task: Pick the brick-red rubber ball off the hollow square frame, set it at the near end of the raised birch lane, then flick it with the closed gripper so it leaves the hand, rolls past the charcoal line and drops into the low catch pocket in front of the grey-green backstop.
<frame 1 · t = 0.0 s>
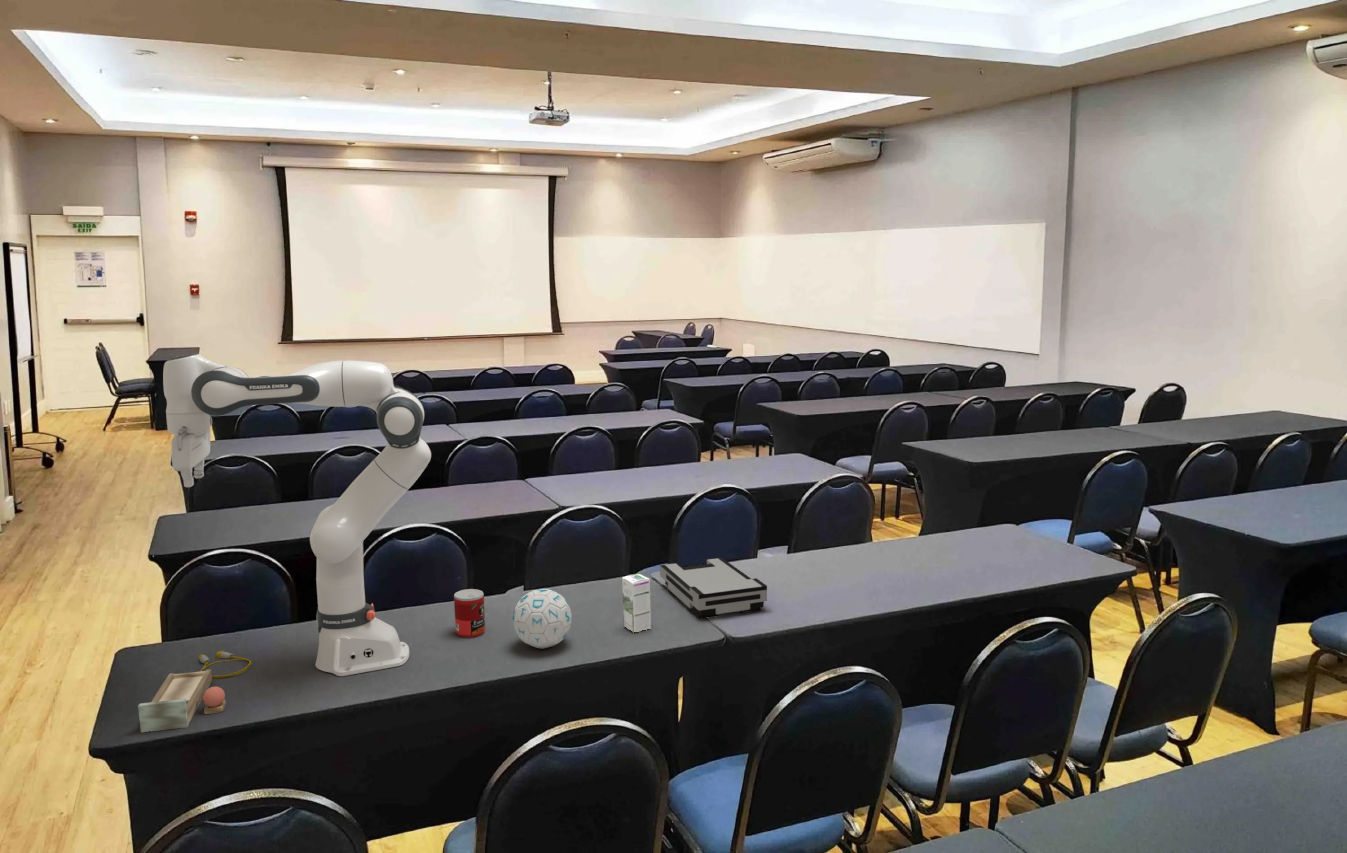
hand: (194, 482, 219), 48 cm above the table, tool pointing down, fingers open, 8 cm apart
hollow square frame: (215, 709, 209), on the table
canned food: (470, 633, 252), on the table
syrup box: (637, 629, 254), on the table
ball: (214, 696, 208), point 3 cm above the table, touching hollow square frame
puzzle ball: (543, 646, 243), on the table
lane: (179, 704, 212), on the table
extension cord: (224, 668, 232), on the table
game console: (711, 600, 277), on the table
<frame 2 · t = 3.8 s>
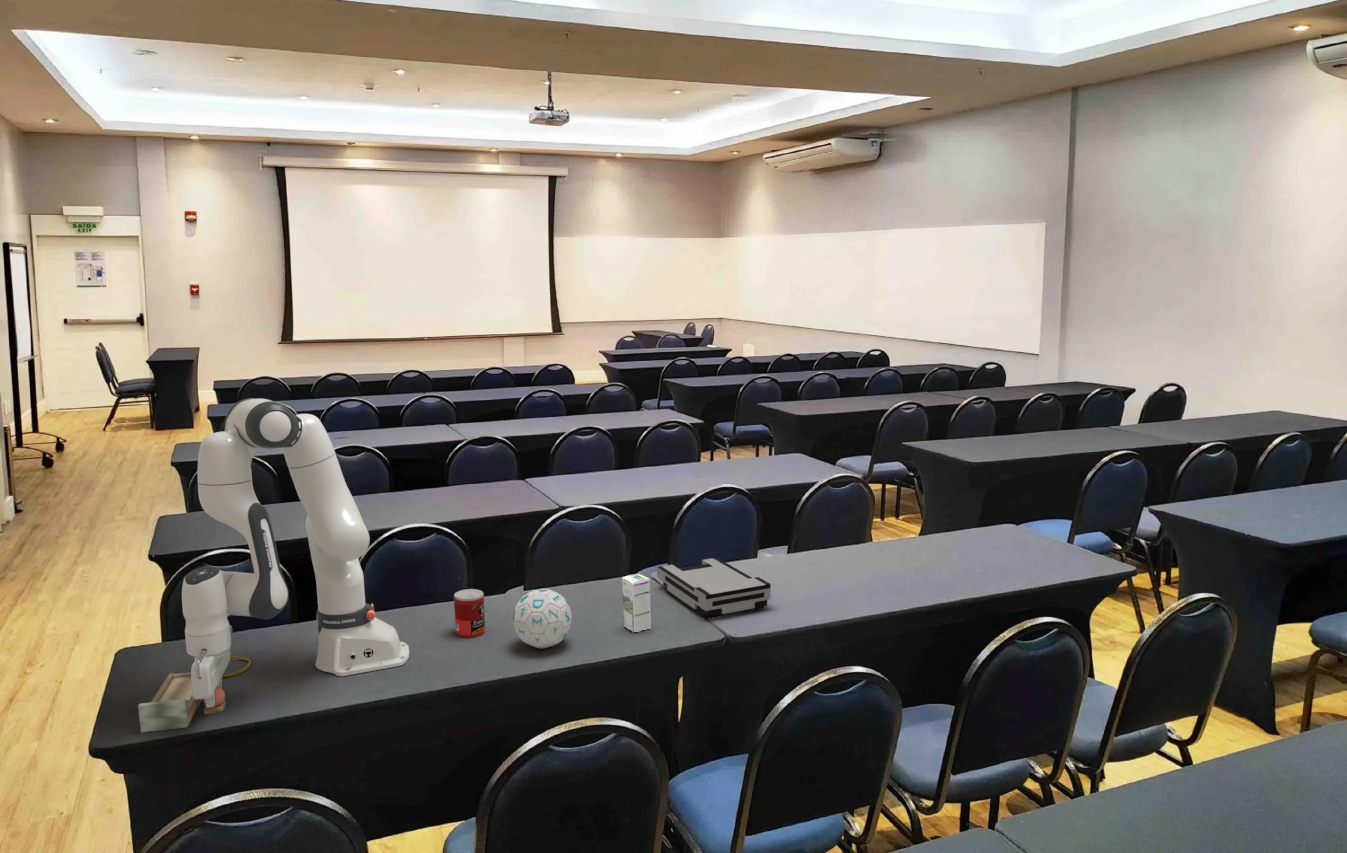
hand: (214, 700, 209), 2 cm above the table, tool pointing down, fingers closed on ball, 4 cm apart
ball: (214, 696, 208), point 3 cm above the table, touching gripper, hollow square frame
when the fingers open (4 cm above the table, at t = 8.2 s): ball drops 1 cm, resting on lane.
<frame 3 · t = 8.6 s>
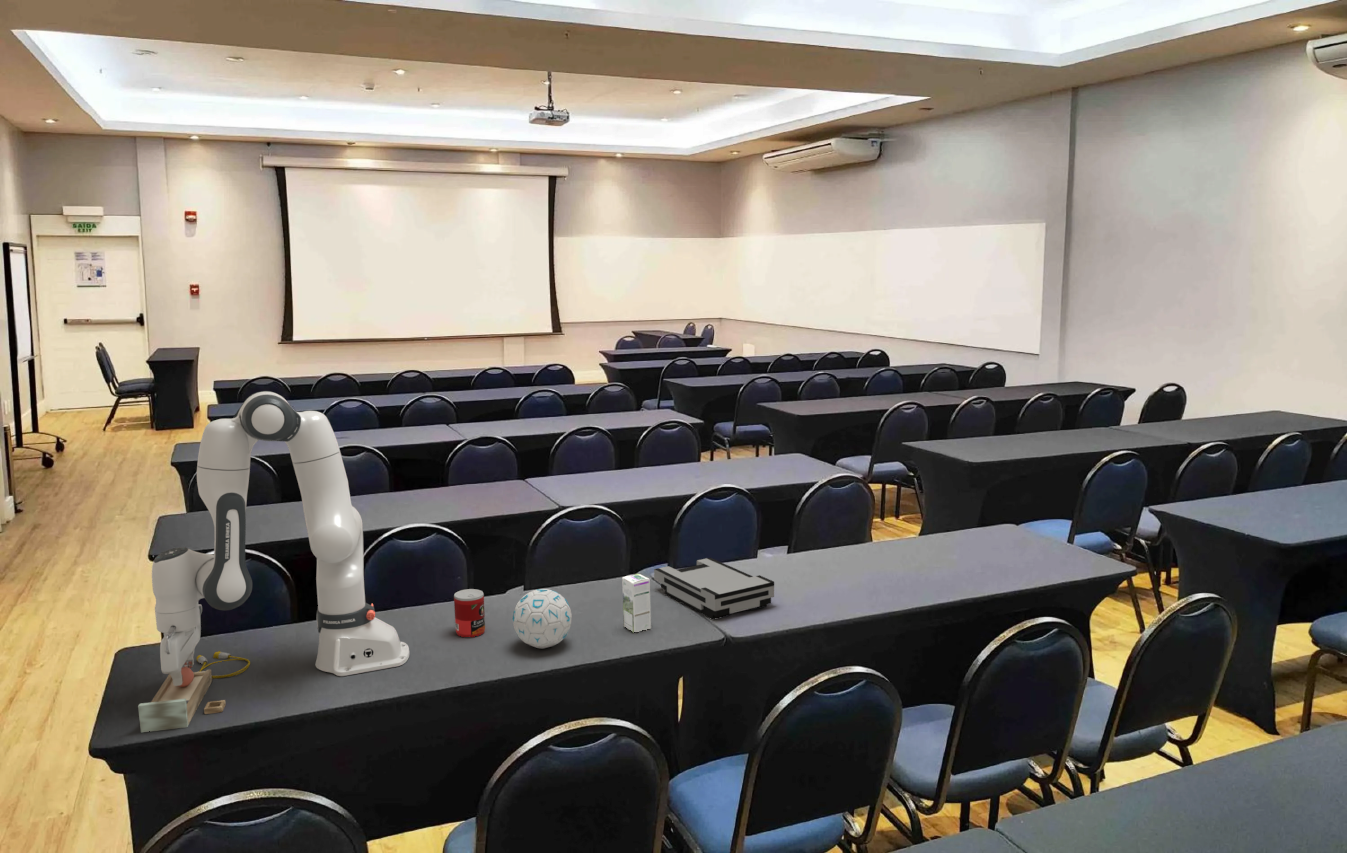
hand: (183, 675, 216), 4 cm above the table, tool pointing down, fingers open, 8 cm apart
ball: (183, 676, 216), point 4 cm above the table, tilted 7°, touching lane
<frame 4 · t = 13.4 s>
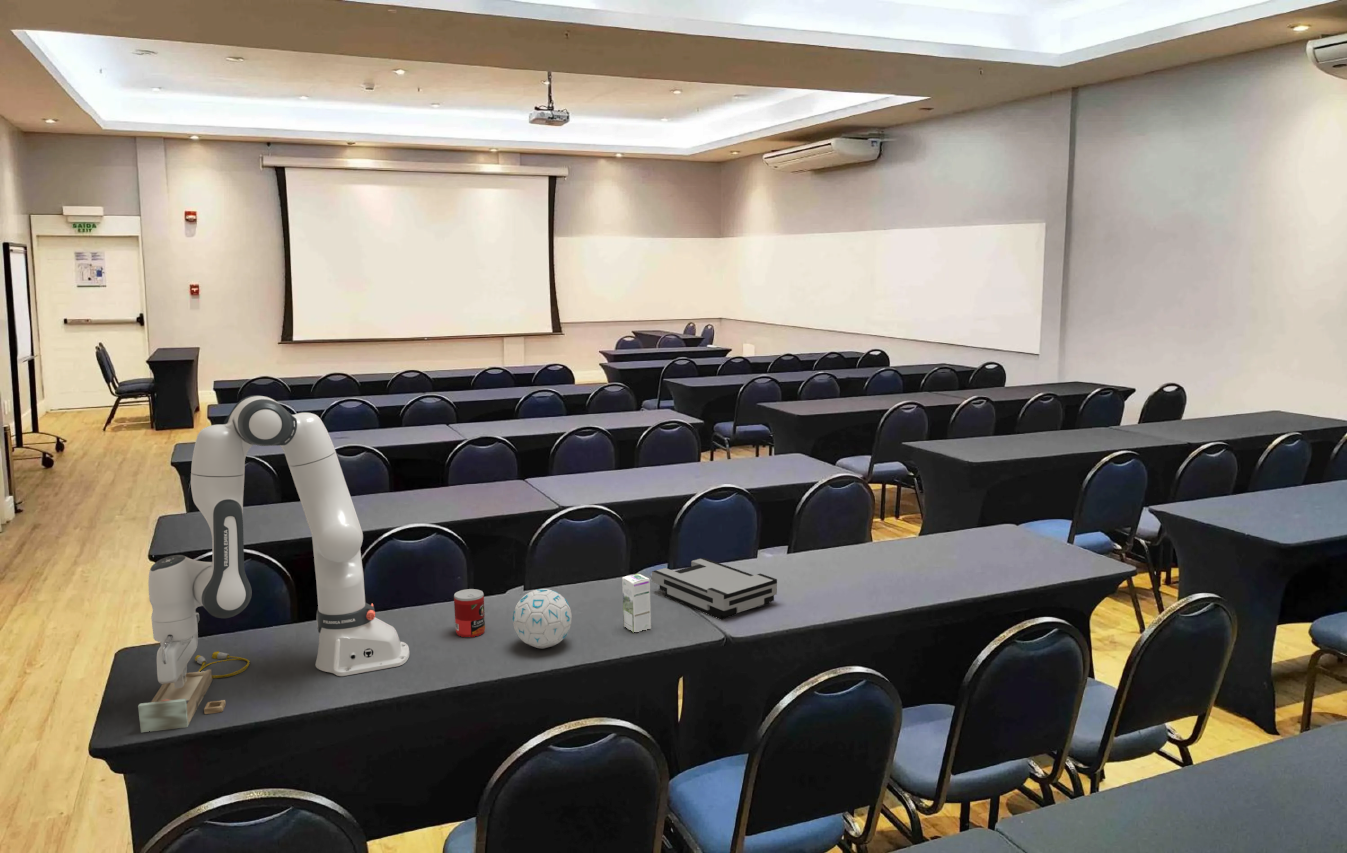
hand: (180, 685, 214), 3 cm above the table, tool pointing down, fingers closed
ball: (165, 709, 204), point 2 cm above the table, tilted 13°, touching lane
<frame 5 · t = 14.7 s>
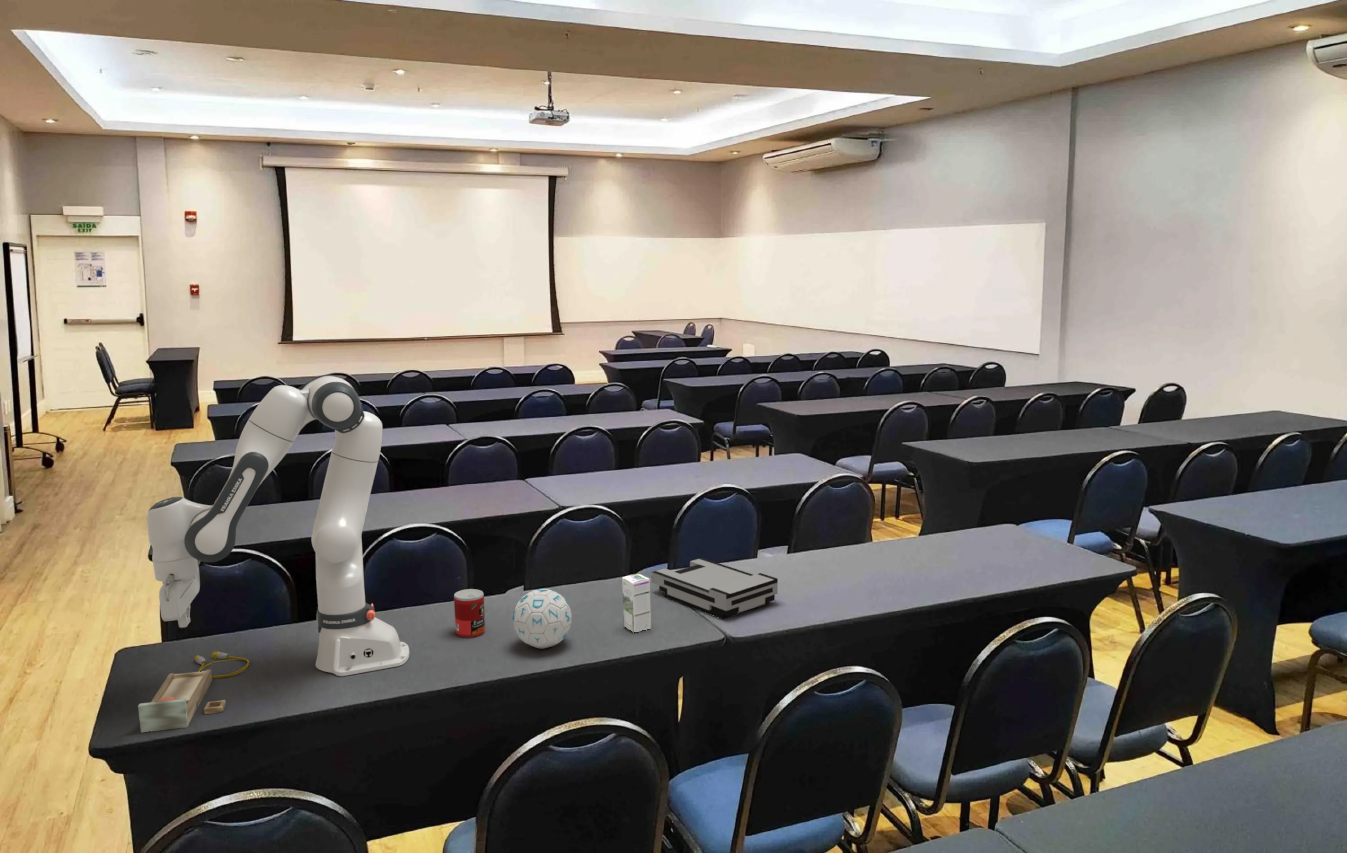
hand: (184, 625, 217), 16 cm above the table, tool pointing down, fingers closed
ball: (166, 706, 205), point 2 cm above the table, tilted 52°, touching lane
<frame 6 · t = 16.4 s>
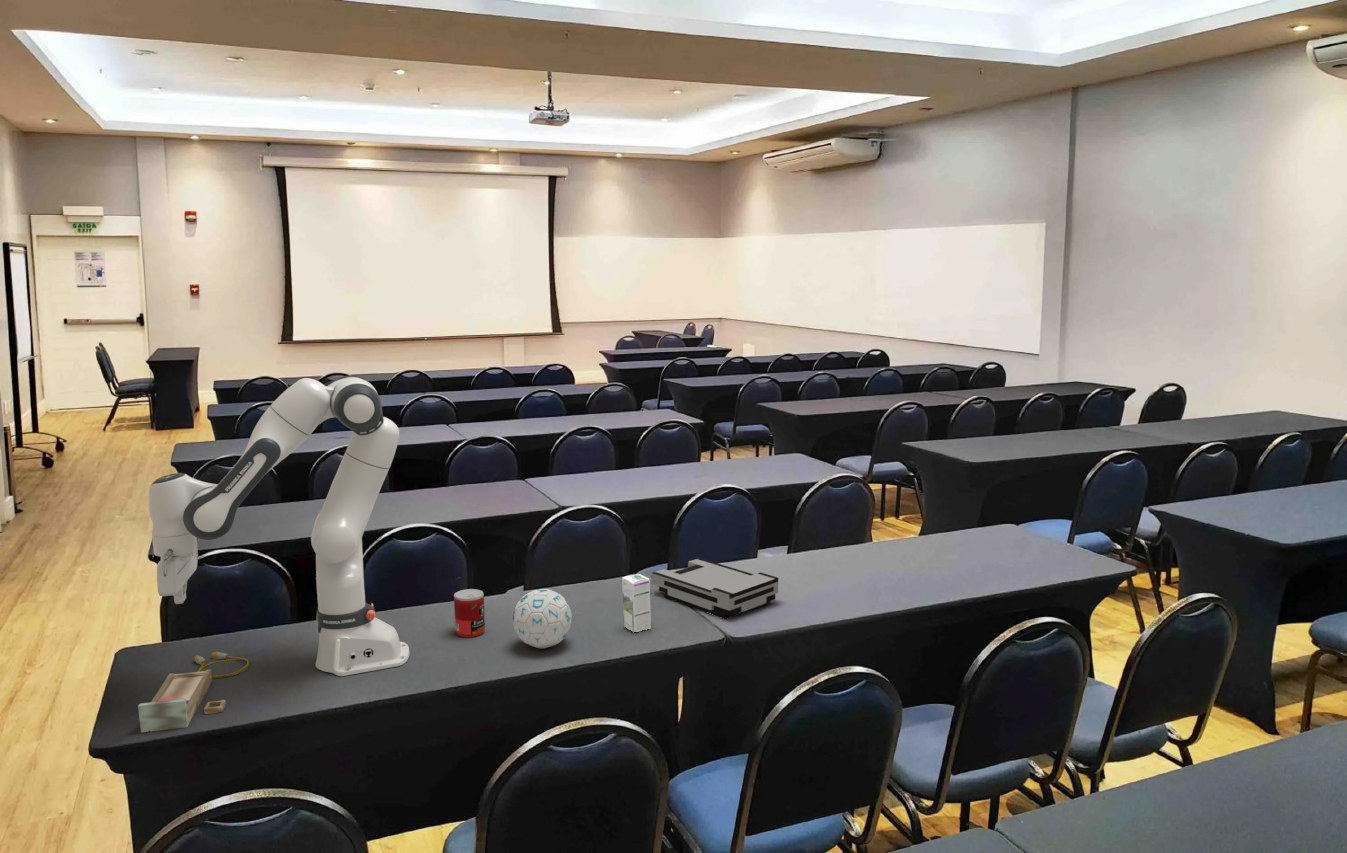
hand: (180, 601, 217), 21 cm above the table, tool pointing down, fingers closed
at the end: ball inside the target area (2.3 cm from its centre), point 2.4 cm above the table; the gripper is holding nothing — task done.
